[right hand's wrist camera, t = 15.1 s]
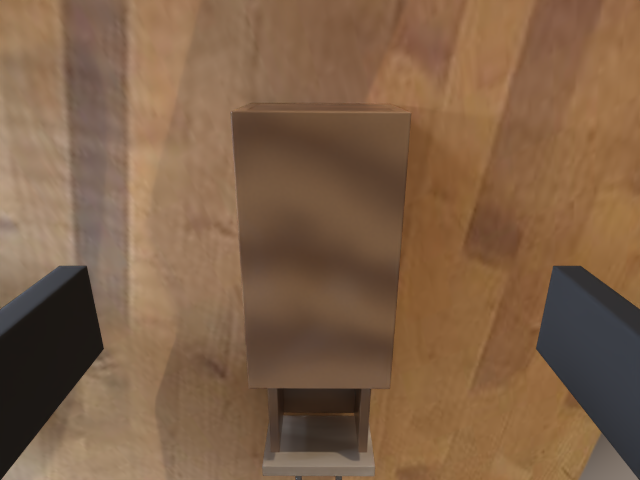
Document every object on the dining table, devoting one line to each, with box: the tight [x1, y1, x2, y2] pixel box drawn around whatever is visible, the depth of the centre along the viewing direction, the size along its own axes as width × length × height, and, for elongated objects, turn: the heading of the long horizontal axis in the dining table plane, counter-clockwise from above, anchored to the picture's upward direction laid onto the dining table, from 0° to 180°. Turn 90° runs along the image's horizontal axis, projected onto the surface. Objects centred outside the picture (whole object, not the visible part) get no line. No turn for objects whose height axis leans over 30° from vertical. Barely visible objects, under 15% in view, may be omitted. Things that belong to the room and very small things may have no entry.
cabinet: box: [231, 103, 411, 389], centre depth 35 cm, size 21×11×8 cm, turn 0°
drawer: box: [262, 388, 375, 480], centre depth 40 cm, size 26×10×6 cm, turn 0°
